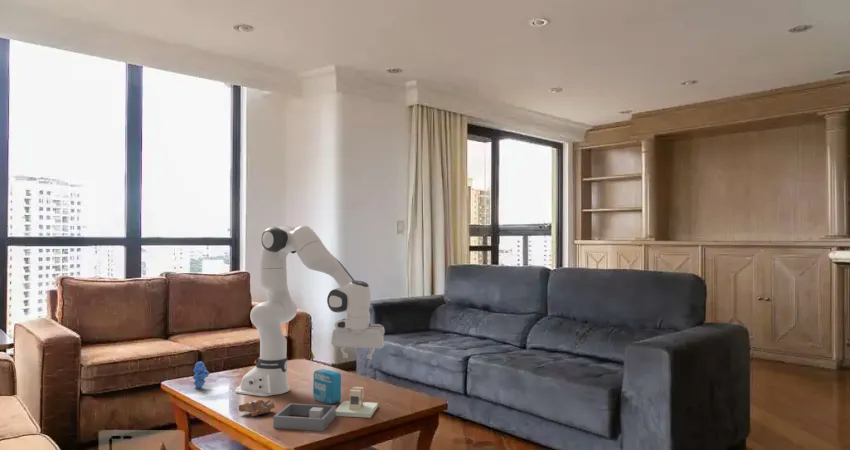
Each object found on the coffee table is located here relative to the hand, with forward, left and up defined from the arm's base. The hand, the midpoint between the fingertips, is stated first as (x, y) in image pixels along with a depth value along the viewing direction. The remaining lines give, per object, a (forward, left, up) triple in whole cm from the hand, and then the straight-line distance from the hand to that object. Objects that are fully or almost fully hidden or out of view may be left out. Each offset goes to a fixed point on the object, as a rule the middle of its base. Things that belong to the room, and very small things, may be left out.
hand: (357, 358), depth 225 cm
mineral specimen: (-36, -10, -21) cm, 42 cm away
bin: (-15, -16, -20) cm, 30 cm away
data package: (-15, +11, -20) cm, 28 cm away
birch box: (0, 0, -19) cm, 19 cm away
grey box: (-11, -16, -20) cm, 28 cm away
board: (0, 0, -20) cm, 20 cm away
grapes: (-73, +19, -20) cm, 78 cm away
